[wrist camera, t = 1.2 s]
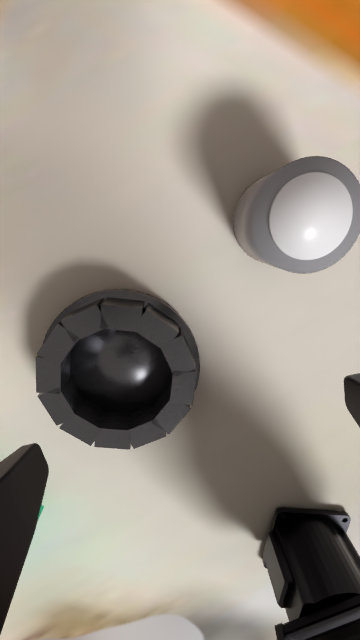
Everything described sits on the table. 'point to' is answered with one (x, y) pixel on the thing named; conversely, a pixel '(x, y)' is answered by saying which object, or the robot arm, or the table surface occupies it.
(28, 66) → the table surface
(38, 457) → the robot arm
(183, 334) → the dark grey ashtray
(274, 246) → the cap
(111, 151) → the table surface
